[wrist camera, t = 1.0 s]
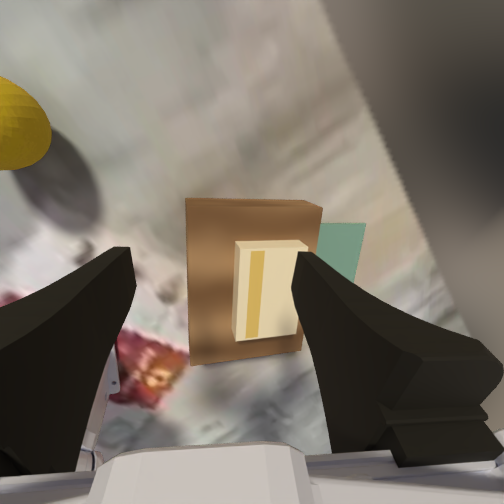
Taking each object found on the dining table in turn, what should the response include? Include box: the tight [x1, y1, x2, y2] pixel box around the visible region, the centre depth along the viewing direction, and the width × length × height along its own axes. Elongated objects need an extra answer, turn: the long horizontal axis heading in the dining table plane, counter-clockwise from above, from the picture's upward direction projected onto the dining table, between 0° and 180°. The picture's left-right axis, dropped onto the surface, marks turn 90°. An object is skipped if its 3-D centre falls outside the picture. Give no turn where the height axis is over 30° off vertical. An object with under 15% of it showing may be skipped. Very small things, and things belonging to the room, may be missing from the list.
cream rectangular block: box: [232, 240, 308, 341], centre depth 25 cm, size 9×6×2 cm, turn 176°
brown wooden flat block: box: [185, 198, 323, 366], centre depth 27 cm, size 16×12×4 cm
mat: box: [316, 223, 366, 283], centre depth 32 cm, size 11×8×1 cm
